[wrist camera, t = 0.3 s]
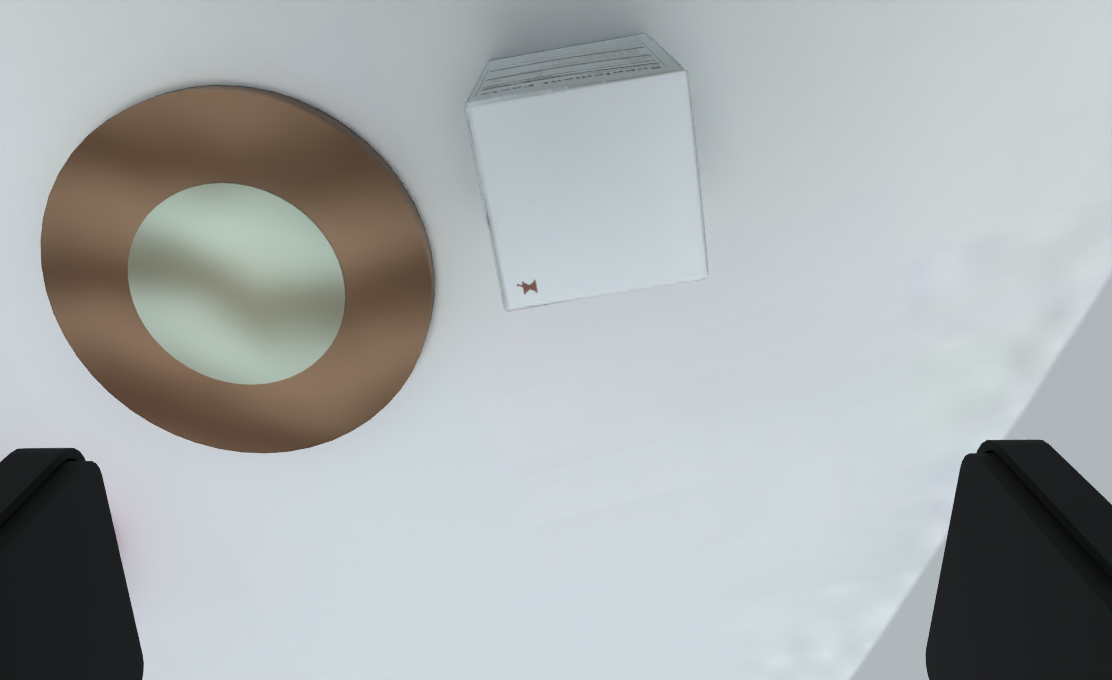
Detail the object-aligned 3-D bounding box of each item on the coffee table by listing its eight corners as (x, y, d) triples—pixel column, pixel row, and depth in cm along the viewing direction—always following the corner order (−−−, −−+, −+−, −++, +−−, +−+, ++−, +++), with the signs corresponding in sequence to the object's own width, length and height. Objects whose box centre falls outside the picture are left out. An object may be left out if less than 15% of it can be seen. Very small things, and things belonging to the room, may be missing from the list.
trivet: (14, 87, 40) (-7, 93, 39) (420, 82, 41) (416, 88, 39) (101, 440, 48) (86, 457, 46) (445, 435, 48) (442, 452, 46)
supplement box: (668, 192, 43) (712, 288, 31) (511, 215, 43) (498, 318, 32) (651, 27, 40) (693, 66, 28) (483, 54, 40) (457, 103, 29)
